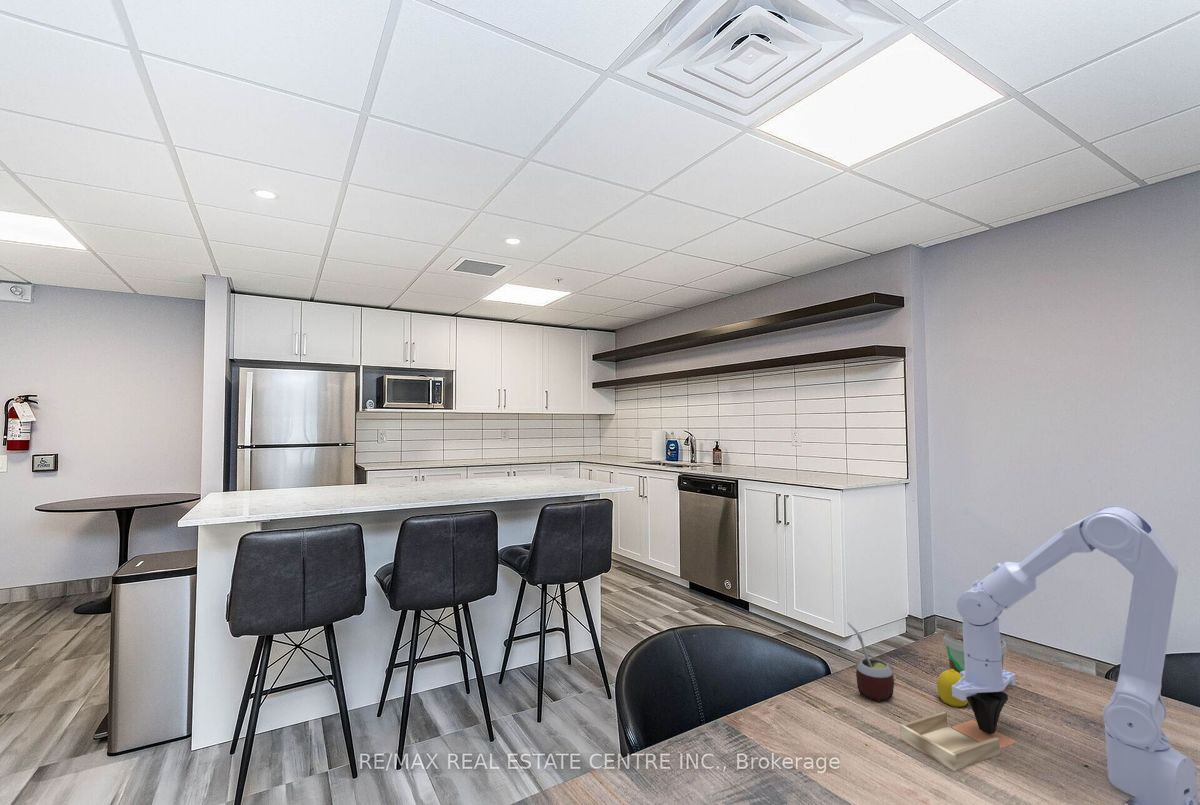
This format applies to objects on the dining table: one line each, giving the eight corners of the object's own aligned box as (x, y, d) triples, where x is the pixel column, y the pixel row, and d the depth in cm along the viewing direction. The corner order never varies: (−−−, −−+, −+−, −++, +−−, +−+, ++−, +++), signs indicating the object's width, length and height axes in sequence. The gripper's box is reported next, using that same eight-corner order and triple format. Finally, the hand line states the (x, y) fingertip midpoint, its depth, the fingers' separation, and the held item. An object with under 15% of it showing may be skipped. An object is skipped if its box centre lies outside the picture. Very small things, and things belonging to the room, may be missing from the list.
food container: (953, 690, 119) (950, 643, 119) (944, 677, 125) (942, 633, 125) (1020, 697, 115) (1017, 648, 116) (1007, 683, 121) (1005, 637, 122)
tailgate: (995, 750, 95) (1017, 741, 97) (950, 727, 102) (972, 719, 105) (995, 756, 95) (1017, 747, 97) (950, 732, 102) (972, 725, 105)
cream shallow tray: (1000, 762, 94) (999, 738, 94) (954, 780, 90) (953, 755, 90) (944, 732, 103) (943, 711, 103) (900, 747, 99) (899, 725, 99)
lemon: (975, 717, 108) (973, 676, 108) (944, 715, 109) (942, 674, 109) (963, 703, 113) (961, 664, 114) (933, 701, 115) (931, 662, 115)
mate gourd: (898, 712, 111) (894, 637, 111) (856, 708, 113) (852, 634, 113) (890, 695, 118) (886, 624, 118) (850, 691, 120) (846, 621, 120)
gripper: (986, 640, 107) (990, 711, 106) (934, 654, 102) (938, 729, 101) (1025, 654, 101) (1030, 730, 100) (972, 669, 95) (977, 749, 95)
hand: (986, 731), depth 100 cm, fingers closed
